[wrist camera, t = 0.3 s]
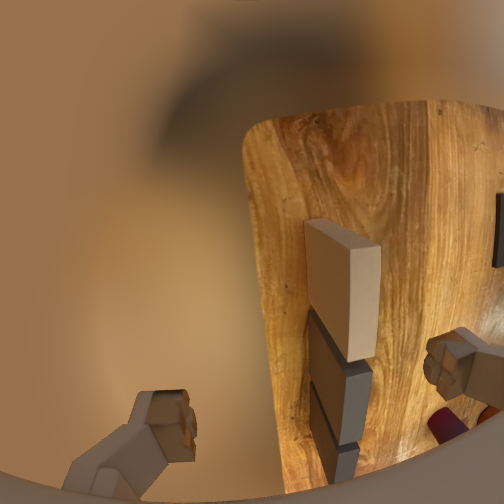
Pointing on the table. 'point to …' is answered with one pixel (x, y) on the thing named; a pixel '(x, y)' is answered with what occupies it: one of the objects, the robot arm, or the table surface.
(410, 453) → the table surface
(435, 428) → the cup
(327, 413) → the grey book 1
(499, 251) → the book rack
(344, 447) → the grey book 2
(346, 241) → the brown flat block
